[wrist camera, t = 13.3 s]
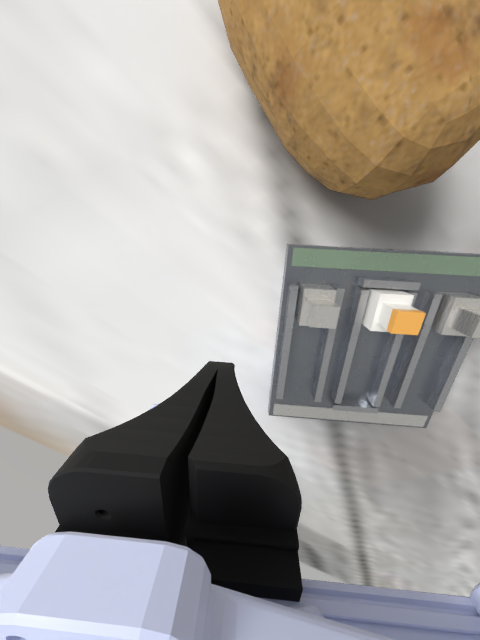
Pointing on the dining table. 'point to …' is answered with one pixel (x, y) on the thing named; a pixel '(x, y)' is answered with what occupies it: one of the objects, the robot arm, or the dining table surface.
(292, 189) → the dining table surface
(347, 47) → the potato
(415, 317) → the breaker
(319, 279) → the panel
